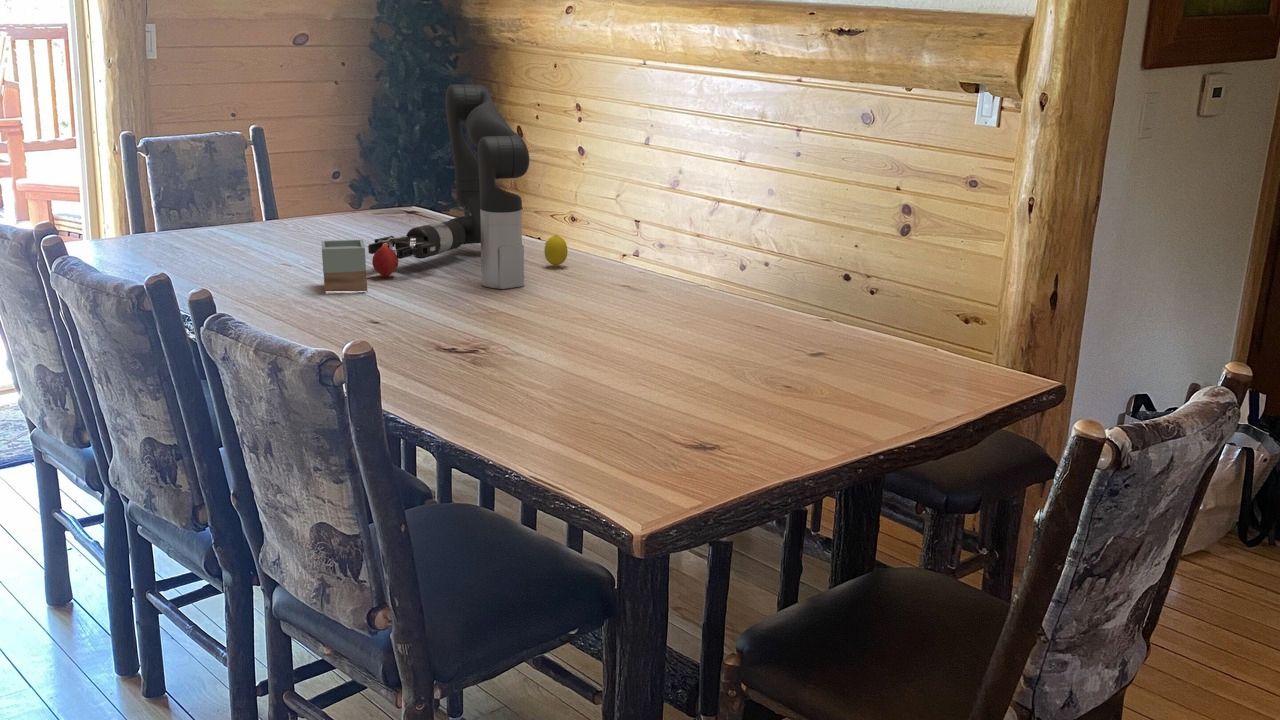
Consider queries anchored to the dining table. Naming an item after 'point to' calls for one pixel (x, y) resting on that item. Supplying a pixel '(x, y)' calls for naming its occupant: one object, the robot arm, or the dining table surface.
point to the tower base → (345, 281)
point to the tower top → (343, 256)
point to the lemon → (556, 250)
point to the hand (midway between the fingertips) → (383, 251)
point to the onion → (385, 261)
